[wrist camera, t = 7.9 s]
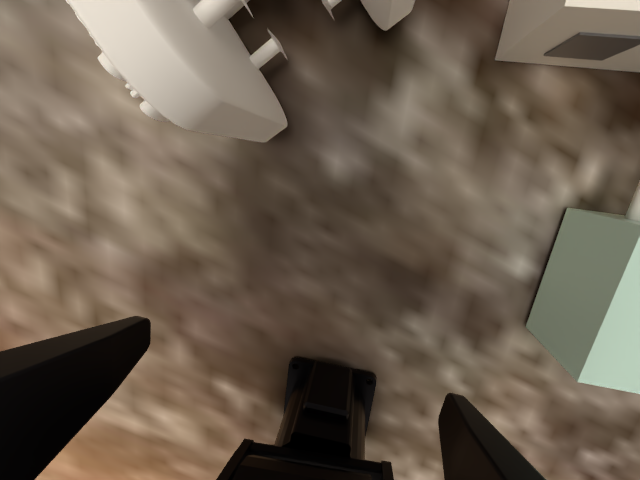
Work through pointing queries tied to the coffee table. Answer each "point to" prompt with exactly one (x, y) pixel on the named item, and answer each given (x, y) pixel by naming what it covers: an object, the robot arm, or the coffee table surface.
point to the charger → (593, 298)
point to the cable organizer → (198, 61)
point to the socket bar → (573, 33)
